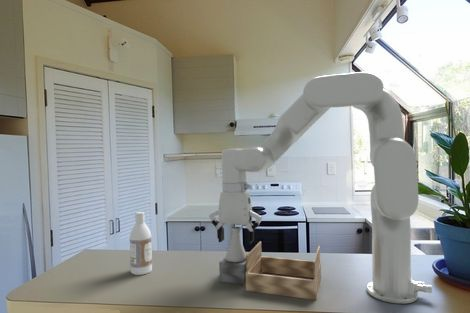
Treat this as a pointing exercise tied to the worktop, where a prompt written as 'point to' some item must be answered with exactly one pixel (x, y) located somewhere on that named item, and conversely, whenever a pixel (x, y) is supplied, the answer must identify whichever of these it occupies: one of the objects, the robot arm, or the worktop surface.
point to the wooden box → (281, 283)
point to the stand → (232, 271)
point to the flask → (236, 247)
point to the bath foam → (140, 247)
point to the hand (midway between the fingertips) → (235, 242)
